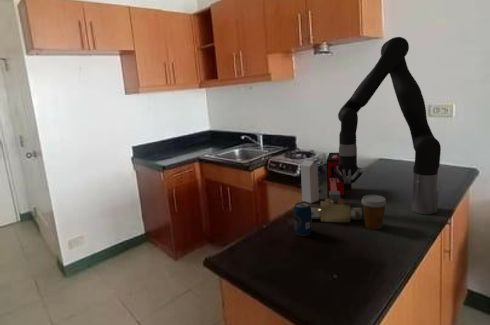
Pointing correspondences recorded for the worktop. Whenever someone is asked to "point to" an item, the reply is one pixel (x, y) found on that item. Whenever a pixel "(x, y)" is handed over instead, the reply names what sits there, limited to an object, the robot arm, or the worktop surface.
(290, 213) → the worktop surface
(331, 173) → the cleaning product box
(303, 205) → the soda can
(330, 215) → the pipe valve
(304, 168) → the milk
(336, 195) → the lever
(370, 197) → the disposable coffee cup
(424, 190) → the robot arm
